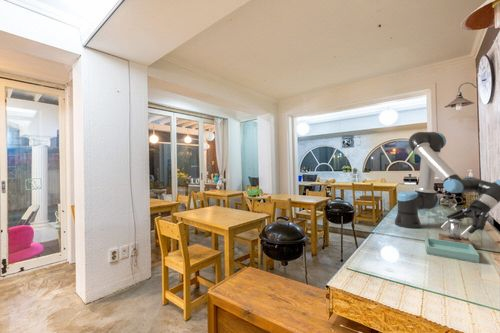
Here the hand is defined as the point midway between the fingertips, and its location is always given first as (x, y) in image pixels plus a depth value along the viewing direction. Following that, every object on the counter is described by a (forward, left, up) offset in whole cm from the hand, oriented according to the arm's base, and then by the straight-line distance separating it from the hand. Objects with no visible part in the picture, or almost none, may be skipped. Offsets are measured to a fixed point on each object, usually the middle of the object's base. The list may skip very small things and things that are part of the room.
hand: (452, 232), depth 122 cm
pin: (+1, +1, -6) cm, 6 cm away
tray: (-3, -16, -6) cm, 17 cm away
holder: (+1, +1, -6) cm, 6 cm away
